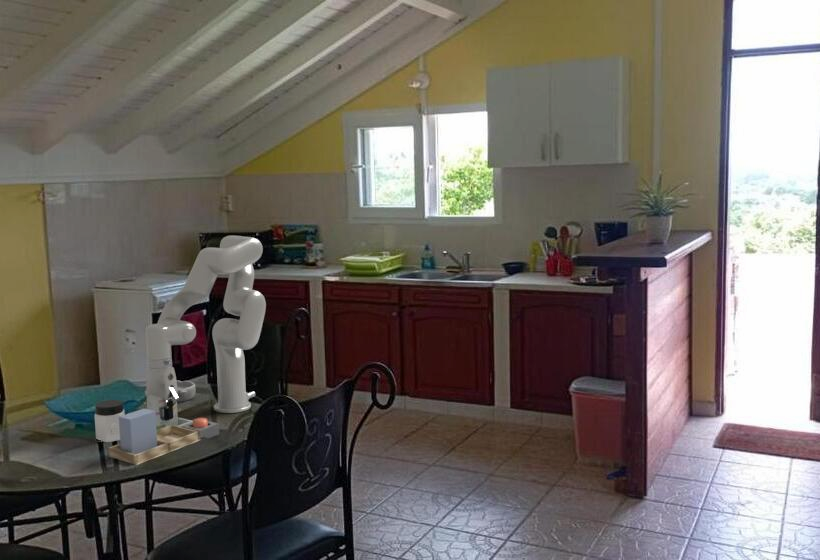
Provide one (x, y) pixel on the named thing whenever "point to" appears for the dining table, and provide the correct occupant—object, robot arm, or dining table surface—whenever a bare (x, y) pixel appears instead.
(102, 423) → the jar
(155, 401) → the ink box
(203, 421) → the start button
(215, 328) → the robot arm
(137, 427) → the seated billet
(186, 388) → the dish
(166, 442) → the wooden compartment tray
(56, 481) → the dining table surface
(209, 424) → the grey square frame
